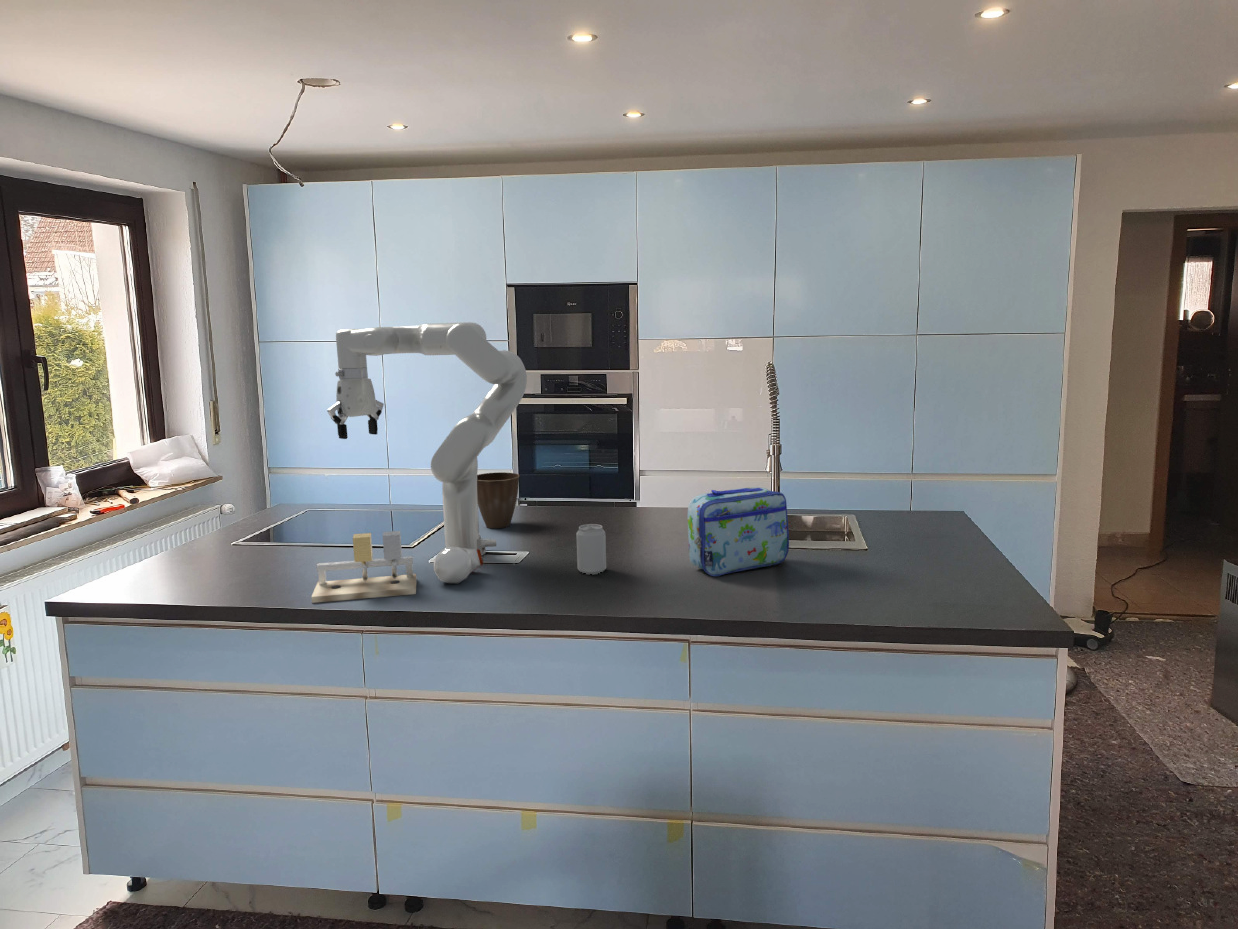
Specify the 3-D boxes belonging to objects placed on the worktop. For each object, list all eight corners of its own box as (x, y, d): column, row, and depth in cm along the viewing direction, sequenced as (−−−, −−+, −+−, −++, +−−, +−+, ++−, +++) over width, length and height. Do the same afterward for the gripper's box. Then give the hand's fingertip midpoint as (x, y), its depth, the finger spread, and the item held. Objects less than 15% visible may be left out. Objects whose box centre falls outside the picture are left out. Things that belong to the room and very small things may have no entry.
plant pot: (468, 523, 282) (466, 474, 280) (513, 518, 289) (510, 470, 286) (481, 533, 269) (479, 482, 266) (528, 527, 275) (525, 477, 272)
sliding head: (375, 574, 221) (371, 530, 219) (373, 582, 214) (369, 536, 212) (358, 575, 220) (355, 531, 218) (356, 584, 213) (352, 538, 211)
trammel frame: (414, 575, 223) (410, 527, 221) (413, 583, 216) (410, 534, 214) (319, 583, 218) (314, 534, 216) (315, 591, 212) (311, 541, 209)
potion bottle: (437, 594, 217) (468, 583, 231) (466, 574, 214) (495, 564, 228) (419, 562, 218) (450, 553, 232) (447, 541, 215) (477, 533, 229)
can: (581, 576, 223) (579, 530, 221) (574, 568, 230) (573, 524, 228) (609, 573, 225) (608, 528, 223) (602, 565, 232) (601, 521, 230)
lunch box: (702, 580, 218) (701, 497, 214) (683, 569, 228) (682, 489, 224) (792, 567, 227) (793, 487, 224) (771, 556, 237) (771, 480, 233)
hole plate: (416, 579, 224) (416, 573, 224) (415, 594, 213) (415, 587, 212) (318, 587, 219) (317, 581, 219) (311, 603, 208) (311, 596, 208)
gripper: (333, 377, 232) (338, 441, 235) (388, 372, 245) (392, 433, 248) (317, 376, 237) (323, 439, 239) (371, 371, 250) (376, 431, 253)
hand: (358, 436), depth 244 cm, fingers open, 9 cm apart
